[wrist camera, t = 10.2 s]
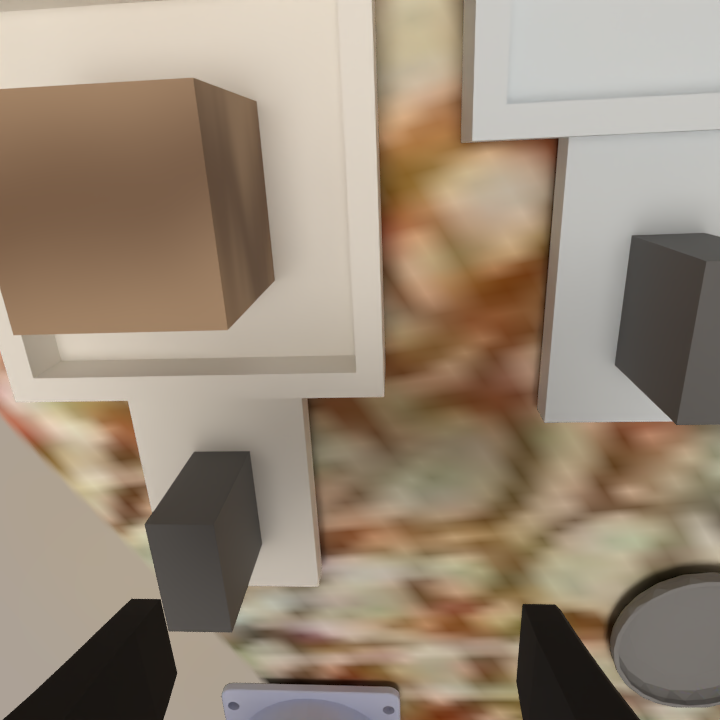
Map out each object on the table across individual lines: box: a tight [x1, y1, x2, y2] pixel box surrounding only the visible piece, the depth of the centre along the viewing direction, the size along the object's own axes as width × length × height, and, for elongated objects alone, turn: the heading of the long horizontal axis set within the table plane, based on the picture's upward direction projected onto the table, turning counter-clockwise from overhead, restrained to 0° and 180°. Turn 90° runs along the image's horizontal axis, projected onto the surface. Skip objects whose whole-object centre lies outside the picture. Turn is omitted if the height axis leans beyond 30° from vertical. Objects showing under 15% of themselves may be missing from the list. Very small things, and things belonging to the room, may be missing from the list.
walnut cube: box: [0, 78, 275, 335], centre depth 14 cm, size 5×5×5 cm
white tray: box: [0, 0, 386, 632], centre depth 16 cm, size 20×12×5 cm, turn 3°
